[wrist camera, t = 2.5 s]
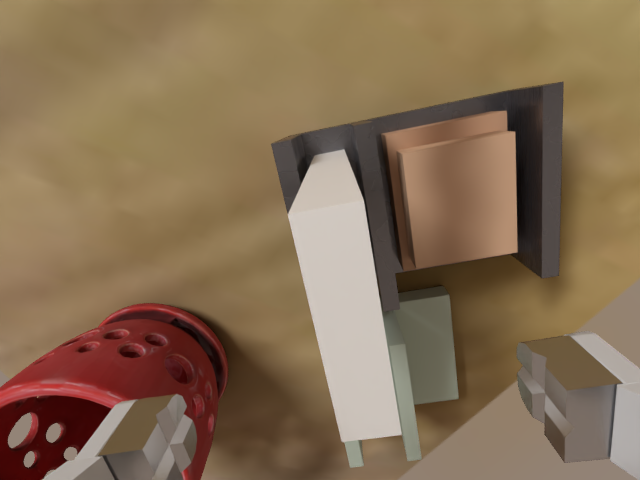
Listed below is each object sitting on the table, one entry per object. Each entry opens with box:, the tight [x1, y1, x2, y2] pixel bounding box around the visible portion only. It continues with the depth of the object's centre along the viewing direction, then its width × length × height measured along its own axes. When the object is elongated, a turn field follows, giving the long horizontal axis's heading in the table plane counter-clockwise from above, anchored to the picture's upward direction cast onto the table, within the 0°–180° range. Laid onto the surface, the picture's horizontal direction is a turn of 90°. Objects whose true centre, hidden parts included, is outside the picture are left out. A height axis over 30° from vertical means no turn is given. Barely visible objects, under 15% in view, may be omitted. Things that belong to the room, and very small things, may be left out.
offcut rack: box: [271, 82, 563, 312], centre depth 22 cm, size 15×11×8 cm
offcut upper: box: [396, 130, 518, 269], centre depth 21 cm, size 6×7×2 cm
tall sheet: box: [288, 149, 402, 442], centre depth 17 cm, size 2×8×15 cm, turn 12°
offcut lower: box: [381, 111, 507, 271], centre depth 23 cm, size 7×9×2 cm
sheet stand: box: [344, 286, 459, 468], centre depth 27 cm, size 10×10×6 cm
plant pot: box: [0, 303, 228, 480], centre depth 25 cm, size 13×13×12 cm
